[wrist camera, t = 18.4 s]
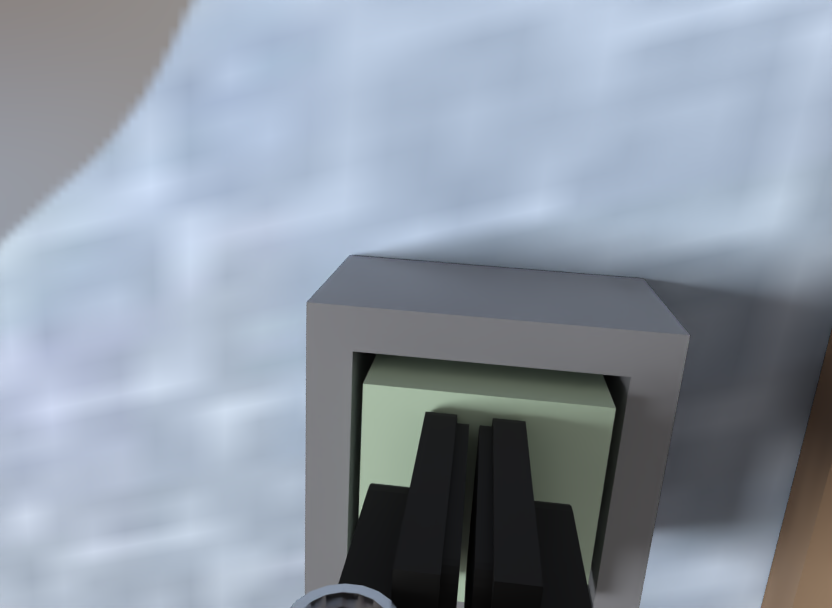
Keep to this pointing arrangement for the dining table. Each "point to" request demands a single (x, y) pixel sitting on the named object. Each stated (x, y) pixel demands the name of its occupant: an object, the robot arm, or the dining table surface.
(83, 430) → the dining table surface
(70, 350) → the dining table surface
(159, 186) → the dining table surface
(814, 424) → the picture board
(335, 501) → the button housing
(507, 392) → the button
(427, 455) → the robot arm
